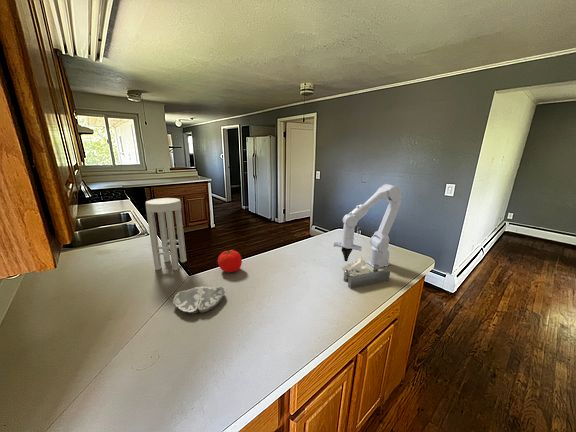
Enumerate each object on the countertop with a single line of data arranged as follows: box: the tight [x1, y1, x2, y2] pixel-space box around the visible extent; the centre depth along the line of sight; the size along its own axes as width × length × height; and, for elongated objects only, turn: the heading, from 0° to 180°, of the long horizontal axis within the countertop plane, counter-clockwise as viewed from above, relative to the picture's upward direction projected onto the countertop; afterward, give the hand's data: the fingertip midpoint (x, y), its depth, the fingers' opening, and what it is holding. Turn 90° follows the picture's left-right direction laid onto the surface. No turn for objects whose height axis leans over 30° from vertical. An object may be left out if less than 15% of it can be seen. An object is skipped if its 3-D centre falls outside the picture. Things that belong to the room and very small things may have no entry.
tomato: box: [217, 248, 243, 273], centre depth 121 cm, size 12×12×11 cm
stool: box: [145, 197, 187, 271], centre depth 123 cm, size 16×16×35 cm
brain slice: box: [172, 285, 226, 314], centre depth 96 cm, size 20×17×3 cm
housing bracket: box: [343, 264, 391, 290], centre depth 115 cm, size 22×8×5 cm, turn 110°
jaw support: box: [341, 257, 371, 276], centre depth 119 cm, size 12×9×10 cm
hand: (346, 260), depth 129 cm, fingers closed
